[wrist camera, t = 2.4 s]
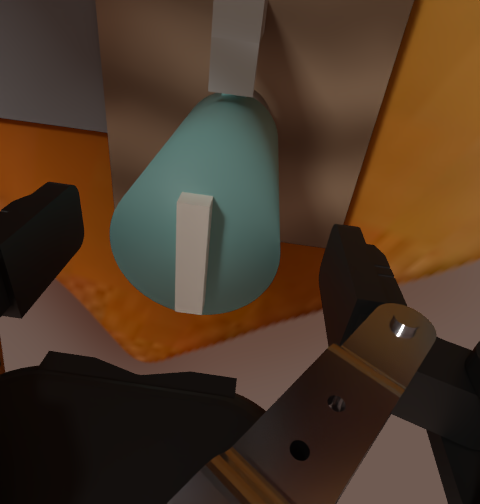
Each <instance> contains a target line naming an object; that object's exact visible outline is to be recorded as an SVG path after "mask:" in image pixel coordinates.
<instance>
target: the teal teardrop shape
mask: <svg viewBox="0 0 480 504" xmlns="http://www.w3.org/2000/svg"><path fill="white" fill-rule="evenodd" d="M110 243H111V248H112V252H113V255H114V258H115V260H116V262H117V264H118V266H119V268H120V270H121V271H122V273H123V274H124V276H125V277H126V278H127V279H128V280H129V282H130V283H131V284H132V285H133V286H134V287H135V288H136V289H137V290H139V291H140V292H141V293H143V294H144V295H145V296H147V297H148V298H150V299H151V300H153V301H155V302H157V303H159V304H161V305H163V306H165V307H168V308H170V309H173V310H175V311H176V312H183V313H190V314H197V315H212V314H221V313H225V312H230V311H233V310H236V309H239V308H241V307H243V306H245V305H247V304H249V303H251V302H252V301H254V300H255V299H257V298H258V297H259V296H260V295H261V294H262V293H263V292H264V291H265V290H266V289H267V288H268V287H269V285H270V284H271V282H272V281H273V279H274V277H275V275H276V273H277V269H278V266H279V261H280V212H279V162H278V133H277V128H276V125H275V122H274V120H273V118H272V116H271V114H270V113H269V111H268V110H267V109H266V108H265V106H264V105H263V104H261V103H260V102H259V101H258V100H256V99H255V98H253V97H245V96H238V95H231V94H224V93H214V94H211V95H209V96H207V97H205V98H204V99H202V100H201V101H200V102H199V103H198V104H197V105H196V106H195V107H194V108H193V109H192V111H191V112H190V113H189V114H188V116H187V117H186V118H185V119H184V121H183V122H182V123H181V124H180V126H179V127H178V128H177V129H176V131H175V132H174V133H173V135H172V136H171V137H170V138H169V140H168V141H167V142H166V143H165V145H164V146H163V147H162V148H161V150H160V151H159V152H158V153H157V155H156V156H155V157H154V159H153V160H152V161H151V162H150V164H149V165H148V166H147V167H146V169H145V170H144V171H143V172H142V174H141V175H140V176H139V177H138V179H137V180H136V181H135V182H134V184H133V185H132V186H131V188H130V189H129V190H128V191H127V193H126V194H125V195H124V196H123V198H122V199H121V201H120V202H119V203H118V205H117V207H116V209H115V211H114V213H113V217H112V220H111V225H110Z"/></svg>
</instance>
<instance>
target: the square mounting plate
mask: <svg viewBox="0 0 480 504" xmlns="http://www.w3.org/2000/svg"><path fill="white" fill-rule="evenodd" d="M95 1H96V12H97V23H98V34H99V44H100V55H101V66H102V77H103V88H104V99H105V110H106V121H107V132H108V143H109V154H110V164H111V175H112V186H113V197H114V208H115V209H116V207H117V205H118V203H119V202H120V201H121V199H122V198H123V196H124V195H125V194H126V193H127V191H128V190H129V189H130V188H131V186H132V185H133V184H134V182H135V181H136V180H137V179H138V177H139V176H140V175H141V174H142V172H143V171H144V170H145V169H146V167H147V166H148V165H149V164H150V162H151V161H152V160H153V159H154V157H155V156H156V155H157V153H158V152H159V151H160V150H161V148H162V147H163V146H164V145H165V143H166V142H167V141H168V140H169V138H170V137H171V136H172V135H173V133H174V132H175V131H176V129H177V128H178V127H179V126H180V124H181V123H182V122H183V121H184V119H185V118H186V117H187V116H188V114H189V113H190V112H191V111H192V109H193V108H194V107H195V106H196V105H197V104H198V103H199V102H200V101H201V100H202V99H204V98H205V97H207V96H209V95H211V94H214V93H224V94H231V95H238V96H245V97H253V98H255V99H256V100H258V101H259V102H260V103H261V104H263V105H264V106H265V108H266V109H267V110H268V111H269V113H270V114H271V116H272V118H273V120H274V122H275V125H276V128H277V133H278V162H279V212H280V242H285V243H292V244H299V245H306V246H313V247H321V248H326V246H327V243H328V239H329V236H330V233H331V230H332V227H333V225H334V224H341V225H343V223H344V220H345V217H346V214H347V211H348V208H349V204H350V201H351V198H352V195H353V192H354V189H355V185H356V182H357V179H358V176H359V173H360V170H361V167H362V163H363V160H364V157H365V154H366V151H367V148H368V144H369V141H370V138H371V135H372V132H373V129H374V125H375V122H376V119H377V116H378V113H379V110H380V107H381V103H382V100H383V97H384V94H385V91H386V88H387V84H388V81H389V78H390V75H391V72H392V69H393V65H394V62H395V59H396V56H397V53H398V50H399V46H400V43H401V40H402V37H403V34H404V31H405V28H406V24H407V21H408V18H409V15H410V12H411V9H412V5H413V2H414V0H95Z"/></svg>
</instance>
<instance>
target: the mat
mask: <svg viewBox="0 0 480 504" xmlns="http://www.w3.org/2000/svg"><path fill="white" fill-rule="evenodd" d="M0 118H5V119H13V120H20V121H27V122H34V123H41V124H49V125H56V126H63V127H70V128H77V129H85V130H92V131H99V132H106V133H108V132H107V121H106V110H105V99H104V88H103V77H102V66H101V55H100V44H99V34H98V23H97V12H96V1H95V0H0Z"/></svg>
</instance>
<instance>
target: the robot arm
mask: <svg viewBox="0 0 480 504" xmlns="http://www.w3.org/2000/svg"><path fill="white" fill-rule="evenodd" d="M83 239H84V226H83V218H82V211H81V204H80V197H79V192H78V189H77V188H76V186H74V185H68V184H61V183H54V182H47V183H46V184H44V185H43V186H42V187H40V188H39V189H38V190H36V191H35V192H34V193H32V194H31V195H28V196H25V197H23V198H20V199H18V200H15V201H13V202H11V203H10V204H9V205H7V206H6V207H4V208H3V209H2V210H1V212H0V317H1V316H8V317H15V318H22V317H23V316H24V315H25V313H27V311H28V310H29V309H30V308H31V307H32V305H33V304H34V303H35V302H36V301H37V299H38V298H39V297H40V296H41V294H42V293H43V292H44V291H45V290H46V288H47V287H48V286H49V285H50V284H51V282H52V281H53V280H54V279H55V278H56V276H57V275H58V274H59V273H60V272H61V270H62V269H63V268H64V267H65V266H66V264H67V263H68V262H69V261H70V259H71V258H72V257H73V256H74V255H75V253H76V252H77V251H78V250H79V249H80V247H81V245H82V242H83ZM319 287H320V294H321V300H322V307H323V313H324V319H325V326H326V332H327V339H328V346H329V347H328V349H326V350H325V351H324V353H323V354H322V355H321V356H320V357H319V358H318V359H317V360H316V361H315V362H314V363H313V364H312V365H311V366H310V367H309V368H308V369H307V370H306V371H305V372H304V373H303V374H302V375H301V376H300V377H299V378H298V379H297V380H296V381H295V382H294V383H293V384H292V386H291V387H290V388H289V389H288V390H287V391H286V392H285V393H284V394H283V395H282V396H281V397H280V398H279V399H278V400H277V401H276V402H275V403H274V404H273V405H272V406H271V407H270V408H269V409H268V410H267V411H265V410H264V409H262V408H261V407H260V406H258V405H257V404H255V403H254V402H252V401H251V400H249V399H247V398H245V397H243V396H241V395H238V394H236V393H235V390H236V389H235V388H236V380H237V379H236V378H230V377H223V376H216V375H209V374H203V373H196V372H179V373H166V374H151V375H137V374H134V373H132V372H129V371H127V370H124V369H122V368H119V367H117V366H114V365H112V364H110V363H107V362H105V361H102V360H100V359H97V358H94V357H87V356H80V355H74V354H67V353H60V352H53V351H49V352H48V354H47V355H46V357H45V358H44V359H43V361H42V362H41V364H40V365H39V366H32V367H26V368H20V369H17V370H13V371H9V372H6V373H5V367H4V359H3V352H2V345H1V338H0V504H336V503H337V502H338V500H339V499H340V497H341V495H342V493H343V492H344V490H345V489H346V487H347V485H348V484H349V482H350V480H351V479H352V477H353V476H354V474H355V472H356V471H357V469H358V467H359V465H360V464H361V462H362V461H363V459H364V458H365V456H366V454H367V453H368V451H369V449H370V448H371V446H372V444H373V443H374V441H375V440H376V438H377V436H378V435H379V433H380V431H381V430H382V428H383V426H384V425H385V423H386V422H387V420H388V418H389V417H390V415H391V414H393V415H395V416H397V417H400V418H402V419H404V420H406V421H409V422H411V423H413V424H415V425H418V426H420V427H422V428H424V429H426V430H427V433H428V437H429V440H430V443H431V447H432V450H433V454H434V457H435V461H436V464H437V467H438V470H439V474H440V477H441V481H442V484H443V487H444V491H445V494H446V498H447V501H448V504H480V342H478V344H477V345H476V346H475V348H474V349H473V351H472V350H469V349H467V348H464V347H461V346H458V345H456V344H453V343H450V342H447V341H445V340H443V339H440V338H438V337H436V331H435V328H434V326H433V325H432V323H431V322H430V321H429V320H428V319H427V318H426V317H425V316H423V315H422V314H421V313H419V312H417V311H416V310H414V309H412V308H410V307H407V304H406V302H405V300H404V298H403V295H402V293H401V291H400V288H399V286H398V284H397V282H396V279H395V278H394V275H393V273H392V270H391V269H390V266H389V263H388V261H387V259H386V257H385V255H384V254H383V253H382V252H381V251H380V250H379V249H378V248H377V247H376V246H374V245H370V244H366V242H365V240H364V237H363V234H362V232H361V229H360V228H359V227H355V226H348V225H341V224H334V225H333V227H332V230H331V233H330V236H329V239H328V243H327V246H326V249H325V253H324V256H323V259H322V263H321V267H320V272H319Z"/></svg>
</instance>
